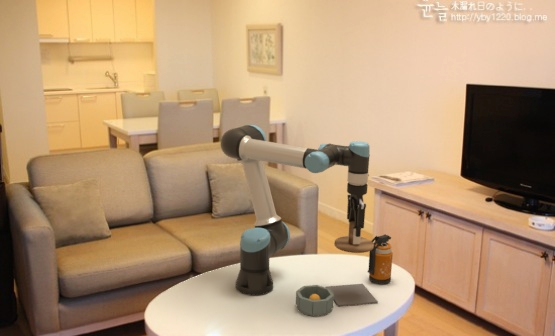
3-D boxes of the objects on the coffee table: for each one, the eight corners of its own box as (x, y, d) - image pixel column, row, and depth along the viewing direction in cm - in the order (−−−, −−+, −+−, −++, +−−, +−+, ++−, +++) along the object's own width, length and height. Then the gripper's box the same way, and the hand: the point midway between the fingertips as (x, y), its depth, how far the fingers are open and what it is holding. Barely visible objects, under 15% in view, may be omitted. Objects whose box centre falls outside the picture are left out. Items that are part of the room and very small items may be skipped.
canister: (395, 281, 235) (398, 236, 230) (375, 288, 229) (379, 241, 224) (379, 274, 242) (383, 230, 237) (360, 279, 236) (363, 235, 231)
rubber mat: (325, 288, 227) (325, 286, 227) (362, 285, 231) (362, 283, 231) (337, 306, 212) (338, 305, 212) (377, 303, 216) (377, 301, 216)
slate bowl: (293, 301, 216) (293, 286, 215) (325, 298, 219) (326, 284, 217) (302, 317, 204) (302, 302, 202) (336, 314, 206) (337, 299, 205)
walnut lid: (329, 239, 222) (330, 218, 220) (365, 237, 225) (366, 216, 223) (341, 254, 208) (343, 231, 206) (379, 251, 211) (381, 228, 209)
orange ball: (307, 303, 213) (307, 292, 212) (318, 302, 214) (318, 291, 212) (310, 308, 208) (310, 297, 207) (321, 307, 209) (322, 296, 208)
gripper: (375, 188, 203) (371, 249, 209) (358, 176, 220) (355, 233, 225) (356, 189, 202) (352, 250, 207) (340, 177, 218) (337, 234, 224)
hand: (354, 241), depth 216 cm, fingers closed on walnut lid, 4 cm apart
